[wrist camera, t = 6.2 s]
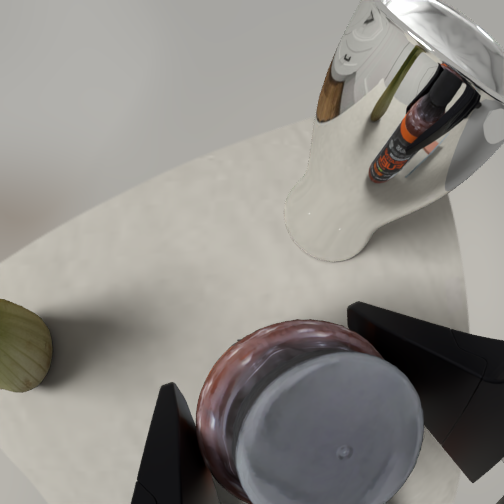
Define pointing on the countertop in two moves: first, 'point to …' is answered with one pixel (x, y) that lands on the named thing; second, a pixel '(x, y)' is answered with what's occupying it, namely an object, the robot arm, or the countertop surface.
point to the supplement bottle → (308, 418)
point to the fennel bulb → (22, 348)
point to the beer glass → (396, 122)
